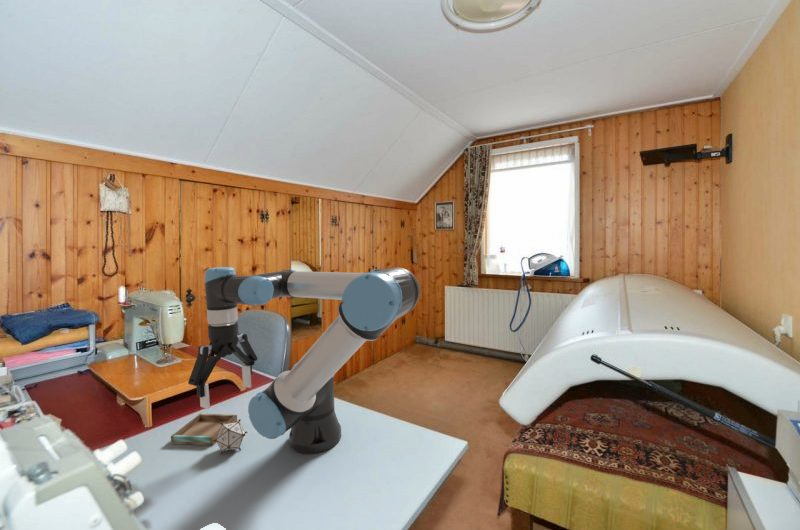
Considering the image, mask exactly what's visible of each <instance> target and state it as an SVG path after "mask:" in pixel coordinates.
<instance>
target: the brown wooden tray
mask: <svg viewBox="0 0 800 530" xmlns="http://www.w3.org/2000/svg"><path fill="white" fill-rule="evenodd" d="M220 422H222V423H223V424H228V423H233V422H238V414H219V413H218V414H216V413H215V414H213V413H199V414H198V415H196V416H195V417H194V418H193V419H191V420H190V421H188V423H186V424H185V425H183V426H182V427H181V428H179V429H178V430H177V431H175V433H173V434H172V435H171V436H170V442H171V445H187V446H189V445H191V446H215V444H217V442H216V441H214V442H213V440H214V439H216V437H217V435H218V433H219V430H220V428H221V426H222V425H221V424H220Z"/></svg>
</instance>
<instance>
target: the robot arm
mask: <svg viewBox="0 0 800 530" xmlns="http://www.w3.org/2000/svg"><path fill="white" fill-rule="evenodd" d="M203 284H204V291H205V303H206V316H207V317H206V319H207V324H209V325H208V326H207V335H208V336H207V337H208V339H209V344H208V345H205V346H204V345H199V346H198V349H197V351H198V352H197V356H196V360H195V363H194V366H193V368H192V370H191V373H190V376H189V379H188V382H187V384H188V385H190V386H194V387H196V396H197V397H198V398H199V402H200V403H199V404H200V408H203V409H210V408H211V405H210V404H211V403H210V402H211V401H210V389H209V383H207V381H208V379H209V378H210V376H211V374H212V372H213V370H214V369H215V367H216V365H217V363H218V362H219V361H220V360H221V358H222V359H223V358H225V357H226V356H230V355H233V356H235V357H236V358H238V359H239V361H241V362H242V363H243V364H241V374H242V375H241V378H242V387H244V388H249V389H250V388H252V375H253V366H254V365H255V364H256V363H255V362H257V361H258V356H257V355H256V352H255V351H254V349H253V347H252V346H251V344H250V341H249V340H248V334H247V333H239V323H238V322H237V321H238V320H239V314H238V305H248V306H264V305H266V304H268V302H269V301H271V300H273V299H278V298H282V297H285V298H286V297H287V298H305V299H306V298H307V299H308V298H309V299H322V300H339V301H340V300H341V302H340V303H339V304H338V306H337V312H338V315H337V316H336V318H335V319H334V320H333V321H332V322H331V323H330V325H329V326H328V327H327V328H326V329H325V330H324V332H323V333H322V334H321V335H320V336H319V337H318V338H317V339H316V341H315V342H314V343H313V344H312V345H311V347H309V349H308V350H307V351H306V352H305V354H304V355H303V356H302V357H301V358H300V359H299V360H298V361H297V362H296V363H295V364H293V366H292V368H291V370H285V371H282V372H281V373H279V374H278V376H277V377H276V378H274V380H273V381H272V382H271V383H270V385H268V387H266V389H264V390H262V391H261V392H258V393H256V394H255V395H253V396H252V398H251V399H250V400H249V402H248V408H247V412H248V417H249V420H250V423H251V425H252V426H253V428H254V429H255V431H256V432H257V433H258V434H259V435H260V436H262V437H263V438H266V439H267V440H268V439H269V440H275V439H277V438H279V437H281V436H283V435H285V433H287V432H288V431H289V430H290V431H289V435H288V438H289V439H288V440H289V441H288V442H289V446H290V449H292V450H293V451H294V452H297V453H300V454H306V455H307V454H309V455H311V454H318V453H322V452H325V451H328V450H330V449H332V448H333V447H335V446H336V445H338V444H339V442H340V440H341V439H342V427H341V424H340V423H339V420H338V417H337V414H336V411H335V388H334V386H335V385H334V383H335V382H334V381H335V380H334V378H335V374H336V373H337V372H338V371H339V370H340V369H341V368H342V367H343V366H344V365H345V364H346V363H347V362H348V361H349V360H350V358H351V357H353V355H354V354H355V353H356V352H357V351H358V350H360V348H361V347H362V346H363V345H364V343H366V342H367V341H368V342H369V341H370V342H373V341H376V340H377V339H379V338H380V336H381V335H383V333H384V332H386V330H388V329H389V328H390V326H392V324H393V323H394V322H395V321H396V320H398V319H400V318H401V317H402V316H404V315H406V314H408V313H410V312H411V311H412V310H413V309H414V308H415V307H416V306H417V304H418V302H419V299H420V296H421V286H420V283H419V280H418V279H417V277H416V275H414V274H413V272H412V271H410V270H409V269H406V268H404V267H390V268H389V267H388V268H383V269H382V268H381V269H380V268H374V269H373V270H372V271H367V272H349V271H348V272H344V271H343V272H342V271H341V272H339V271H335V272H334V271H300V270H298V271H297V270H296V269H295V270H294V269H284V270H279V271H275V272H266V273H258V274H250V275H237V274H236V269H235V268H234V267H231V266H220V267H210V268H207V269H205V271H204V283H203ZM238 343H239V344H240V346H241V348H242V349H241V348H240V347H239V346H238ZM243 351H244V352H243Z"/></svg>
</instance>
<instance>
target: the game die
mask: <svg viewBox="0 0 800 530" xmlns="http://www.w3.org/2000/svg"><path fill="white" fill-rule="evenodd" d="M241 420H242V419H241V418H240V419H238V420H237V422H233V423H228V424H223V423H222V422H220V424H221V425H222V426H221V428H220V430H219V433H218V435H217V437H216V439H214V440H213V442H214V441H216V444H217V445H218V447H219V449H220V453H219V454H220V455H221V454H223V452H227V451H232V450H239V451H240V452H241V451H242V448H240V447H241V445H242V442H243V439H244V437H245V436H246V434H248V431H245V429H244V428H243V426H242V424H241Z"/></svg>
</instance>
